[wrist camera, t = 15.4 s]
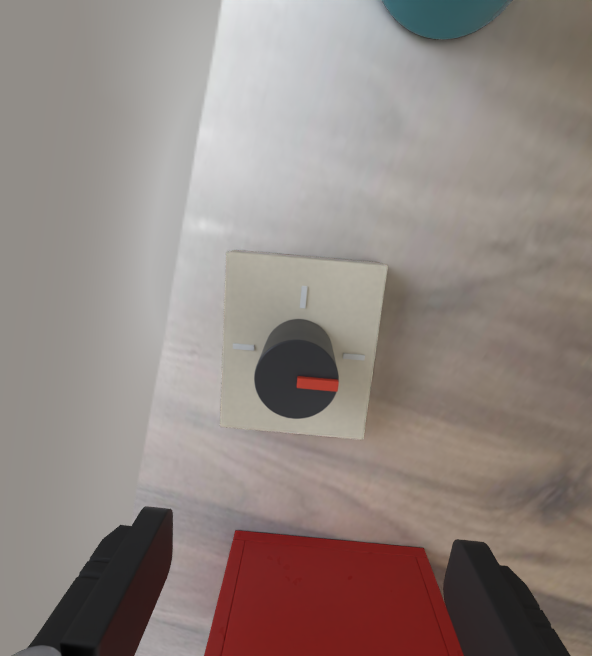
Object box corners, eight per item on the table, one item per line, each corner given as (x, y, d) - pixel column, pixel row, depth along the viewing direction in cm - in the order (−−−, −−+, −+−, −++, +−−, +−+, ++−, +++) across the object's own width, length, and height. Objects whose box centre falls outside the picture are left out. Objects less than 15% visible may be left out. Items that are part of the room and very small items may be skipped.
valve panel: (228, 407, 28) (218, 428, 25) (235, 249, 25) (225, 251, 22) (357, 419, 28) (363, 441, 25) (379, 262, 25) (389, 265, 22)
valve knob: (262, 380, 24) (250, 418, 19) (267, 315, 23) (255, 337, 18) (328, 386, 24) (334, 425, 19) (336, 321, 23) (344, 345, 18)
